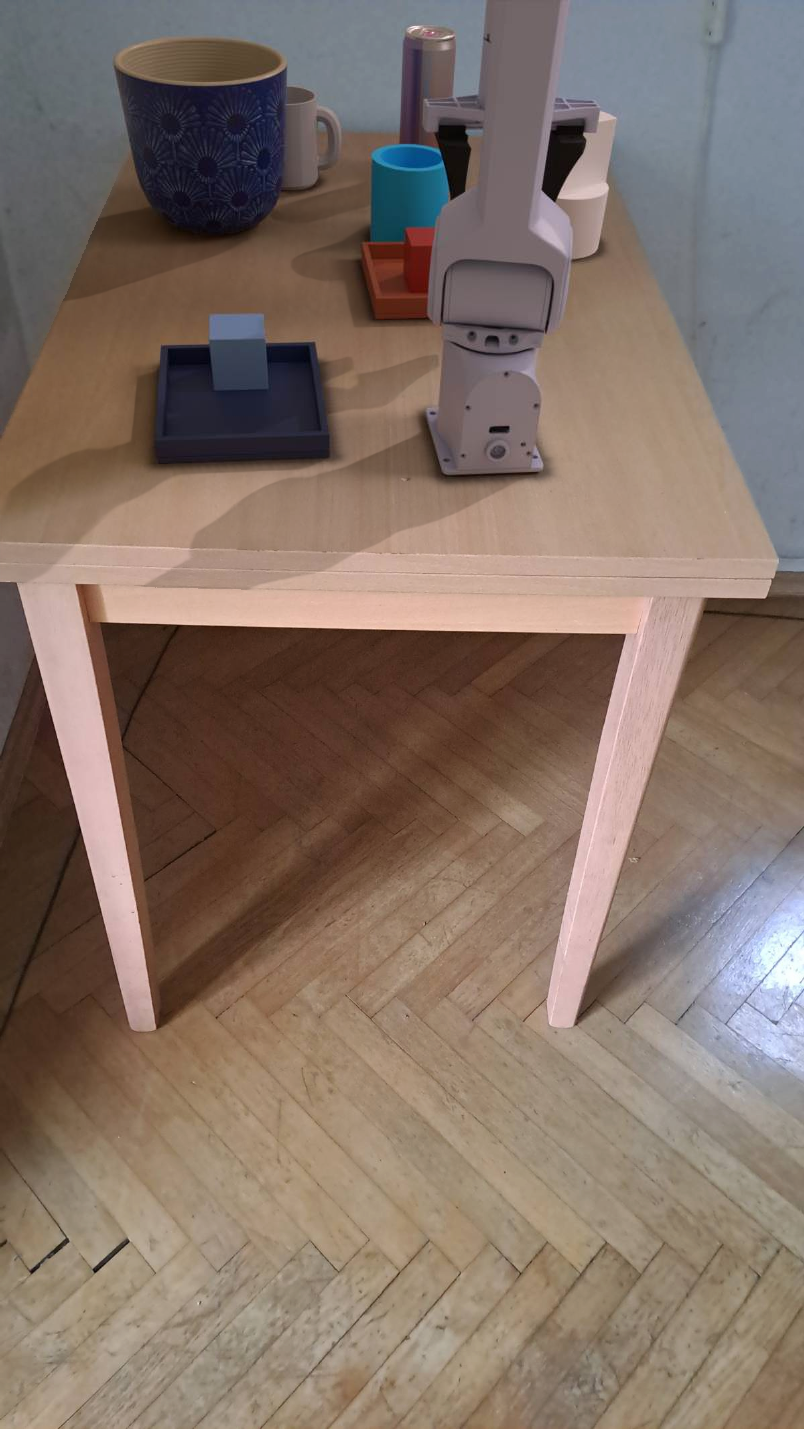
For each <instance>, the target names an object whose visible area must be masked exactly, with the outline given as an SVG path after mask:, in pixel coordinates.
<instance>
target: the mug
mask: <svg viewBox="0 0 804 1429" xmlns="http://www.w3.org/2000/svg"><path fill="white" fill-rule="evenodd" d="M370 178H371V180H370V182H371V183H370V184H371V185H370V227H369V228H370V229H369V230H370V231H369V233H370V234H369V235H370V236H369V239H370V242H404V241H405V228H413V227H435V225H436V219H437V217H438V216H439V215H440V213H441V208H442V207H443V206H444V205H445V204H447V203H448V202H449V197H450V192H449V185H448V180H447V175H446V171H445V167H444V163H443V159H442V156H441V153H440V150H439V149H437V148H433V147H429V146H423V145H416V144H399V143H398V144H389V145H385V146H381V147H379V148H376V149H375V150H373V152H372V153H371V177H370Z"/></svg>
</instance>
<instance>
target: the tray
mask: <svg viewBox="0 0 804 1429" xmlns="http://www.w3.org/2000/svg"><path fill="white" fill-rule="evenodd" d="M360 244H361V246H360V262H361V267H362V271H363V274H364V278H365V283H366V287H367V291H368V294H369V298H370V302H371V306H372V310H373V314H374V318H375V320H389V319H390V320H394V319H395V320H397V319H430V318H429V317H428V314H427V306H428V293H409V291H408V287H407V284H406V281H405V278H404V275H403V264H404V242H371V241H361V243H360ZM442 314H443V313H442Z"/></svg>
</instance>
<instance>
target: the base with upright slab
mask: <svg viewBox="0 0 804 1429" xmlns="http://www.w3.org/2000/svg"><path fill="white" fill-rule="evenodd" d="M617 123H618V118H617V117H616V116H614V115H612V114H610V113H608V112H605V111H602V110H600V115H599V121H598V127H597V132H596V133H585V132H584V133H583V136H584V137H585V138H586V140H587V141H586V147H585V150H584V153H583V154H582V156H581V157H580V159H579V160H578V161H577V163H576V164H575V166H574V167H573V169H572V170H571V172H570V174H569V175H568V177H567V179H566V181H565V183H564V184H563V186H562V188H561V191H560V193H559V195H558V197H557V200H556V202H555V204H557V205H558V206H559V207H560V208H561V209H562V210H563V211H564V212H565V213H566V214H567V215H568V216H569V218H570V226H571V227H572V229H573V245H572V258H571V260H577V259H578V260H579V259H584V258H586V257H590V256H592V255H593V254H595V253H596V252H597V250H598V249H599V244H600V239H601V233H602V228H603V224H604V219H605V218H604V217H605V211H606V206H607V201H608V196H609V190H610V188H609V184H608V183H607V179H608V178H607V177H608V173H609V172H608V171H609V166H610V160H611V155H612V150H613V143H614V138H615V132H616V128H617Z"/></svg>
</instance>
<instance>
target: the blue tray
mask: <svg viewBox="0 0 804 1429" xmlns="http://www.w3.org/2000/svg"><path fill="white" fill-rule="evenodd" d="M159 351H160V353H159V366H158V368H159V369H158V380H157V381H158V382H157V396H156V411H155V412H156V413H155V426H154V442H153V443H154V448H155V452H156V453H155V455H156V461H157V464H179V463H205V462H208V463H209V462H235V461H262V460H263V461H264V460H285V459H286V460H288V459H290V460H291V459H316V458H317V459H318V458H330V457H331V442H330V440H331V438H330V436H331V435H330V428H329V422H328V415H327V409H326V403H325V396H324V390H323V389H324V388H323V384H322V377H321V370H320V364H319V358H318V351H317V345H316V341H297V342H266V357H267V374H268V389H263V390H227V391H214V384H213V374H212V364H211V355H210V345H209V343H204V344H203V343H202V344H200V343H198V344H161V345H160V350H159Z"/></svg>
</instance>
